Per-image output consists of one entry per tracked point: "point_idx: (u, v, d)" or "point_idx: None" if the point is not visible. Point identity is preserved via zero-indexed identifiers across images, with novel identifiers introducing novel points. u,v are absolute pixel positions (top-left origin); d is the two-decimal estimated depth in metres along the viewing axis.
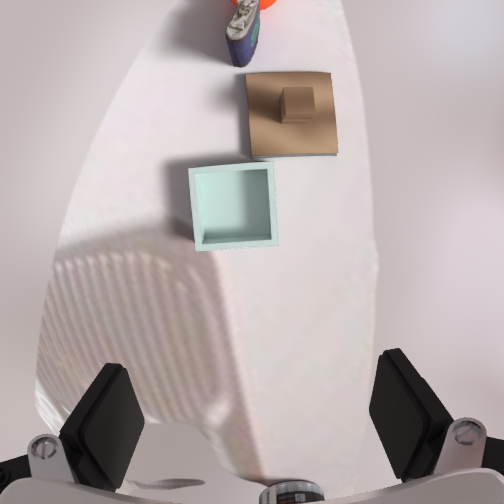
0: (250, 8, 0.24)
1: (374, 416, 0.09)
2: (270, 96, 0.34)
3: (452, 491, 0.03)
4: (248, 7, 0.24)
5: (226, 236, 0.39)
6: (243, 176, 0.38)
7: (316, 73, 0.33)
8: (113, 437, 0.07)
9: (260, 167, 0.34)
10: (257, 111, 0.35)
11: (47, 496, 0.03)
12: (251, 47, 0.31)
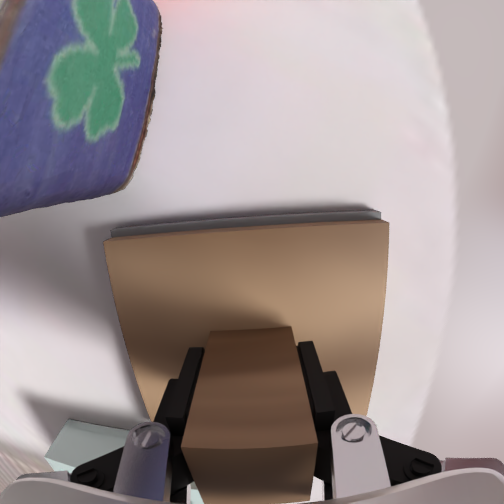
0: None
1: None
2: (184, 318, 0.12)
3: (452, 491, 0.03)
4: None
5: None
6: None
7: (342, 229, 0.11)
8: None
9: None
10: (152, 359, 0.12)
11: (47, 496, 0.03)
12: (108, 138, 0.08)
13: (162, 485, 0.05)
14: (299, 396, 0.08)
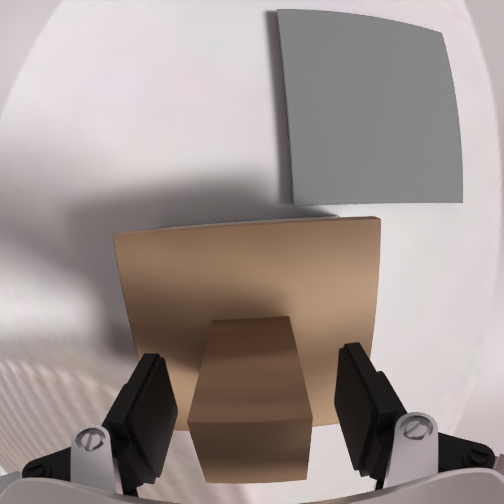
0: None
1: (337, 408, 0.10)
2: (188, 308, 0.12)
3: (452, 491, 0.03)
4: None
5: None
6: None
7: (336, 224, 0.12)
8: (155, 425, 0.08)
9: None
10: (157, 348, 0.13)
11: (47, 496, 0.03)
12: None
13: (113, 481, 0.05)
14: (296, 377, 0.08)
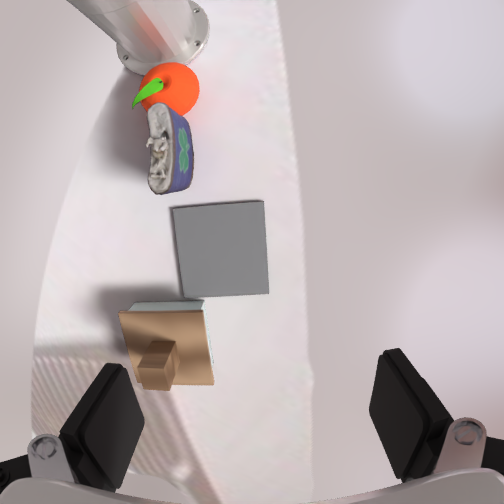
0: None
1: (374, 416, 0.09)
2: (143, 336, 0.36)
3: (452, 491, 0.03)
4: None
5: None
6: None
7: (186, 314, 0.35)
8: (113, 437, 0.08)
9: None
10: (134, 349, 0.36)
11: (47, 496, 0.03)
12: (186, 171, 0.33)
13: None
14: (165, 359, 0.32)
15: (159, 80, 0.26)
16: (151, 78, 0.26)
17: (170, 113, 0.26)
